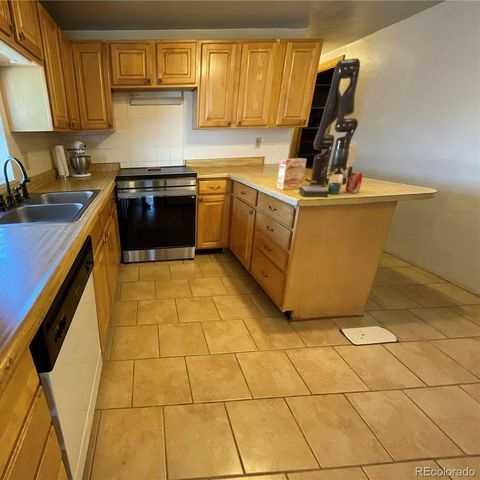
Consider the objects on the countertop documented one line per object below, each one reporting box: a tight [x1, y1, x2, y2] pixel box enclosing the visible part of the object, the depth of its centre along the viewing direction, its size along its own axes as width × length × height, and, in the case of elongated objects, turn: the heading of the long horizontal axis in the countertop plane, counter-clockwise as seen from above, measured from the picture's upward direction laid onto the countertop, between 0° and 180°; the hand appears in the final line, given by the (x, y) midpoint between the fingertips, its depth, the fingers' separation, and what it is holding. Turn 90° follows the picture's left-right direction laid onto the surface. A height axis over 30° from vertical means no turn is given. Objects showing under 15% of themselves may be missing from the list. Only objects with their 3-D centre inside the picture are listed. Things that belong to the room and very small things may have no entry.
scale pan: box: [302, 185, 327, 191], centre depth 159 cm, size 10×10×2 cm
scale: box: [299, 187, 329, 198], centre depth 160 cm, size 14×13×3 cm
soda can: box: [344, 171, 363, 194], centre depth 159 cm, size 7×7×12 cm
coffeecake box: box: [276, 157, 307, 191], centre depth 177 cm, size 15×7×20 cm, turn 101°
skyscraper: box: [337, 141, 358, 184], centre depth 188 cm, size 8×8×28 cm
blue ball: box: [327, 182, 342, 195], centre depth 160 cm, size 6×6×6 cm
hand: (335, 184), depth 158 cm, fingers open, 8 cm apart
